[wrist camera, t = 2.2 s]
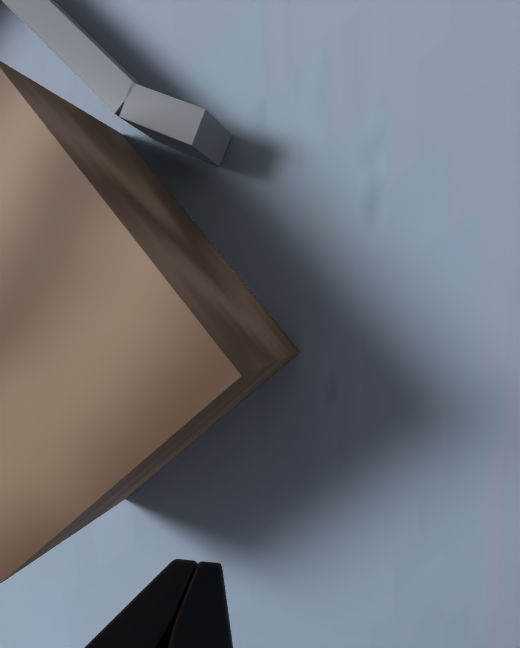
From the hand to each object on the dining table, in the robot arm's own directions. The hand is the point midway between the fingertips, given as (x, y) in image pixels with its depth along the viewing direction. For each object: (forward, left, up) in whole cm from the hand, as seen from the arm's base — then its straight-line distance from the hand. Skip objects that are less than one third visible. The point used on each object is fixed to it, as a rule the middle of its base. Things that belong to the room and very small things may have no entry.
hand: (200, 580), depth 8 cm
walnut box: (+9, +6, -14) cm, 18 cm away
